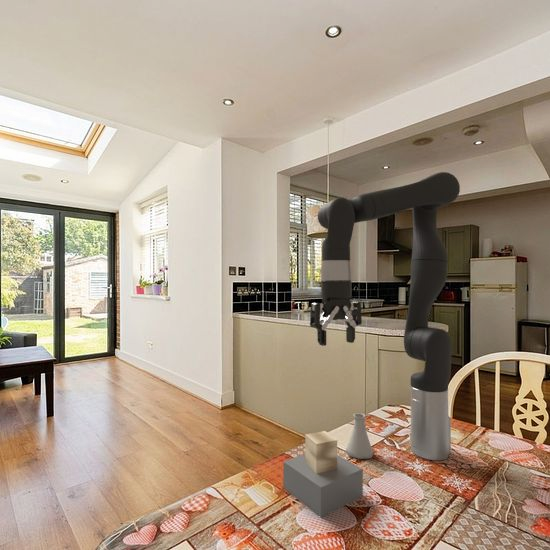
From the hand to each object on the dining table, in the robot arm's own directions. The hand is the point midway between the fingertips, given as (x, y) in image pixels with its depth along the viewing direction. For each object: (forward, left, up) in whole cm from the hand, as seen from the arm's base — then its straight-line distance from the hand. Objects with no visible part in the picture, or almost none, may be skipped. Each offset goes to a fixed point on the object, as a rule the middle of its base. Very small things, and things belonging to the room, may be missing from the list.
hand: (336, 343), depth 87 cm
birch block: (+10, +8, -24) cm, 27 cm away
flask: (-9, -2, -30) cm, 32 cm away
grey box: (+10, +8, -30) cm, 33 cm away
